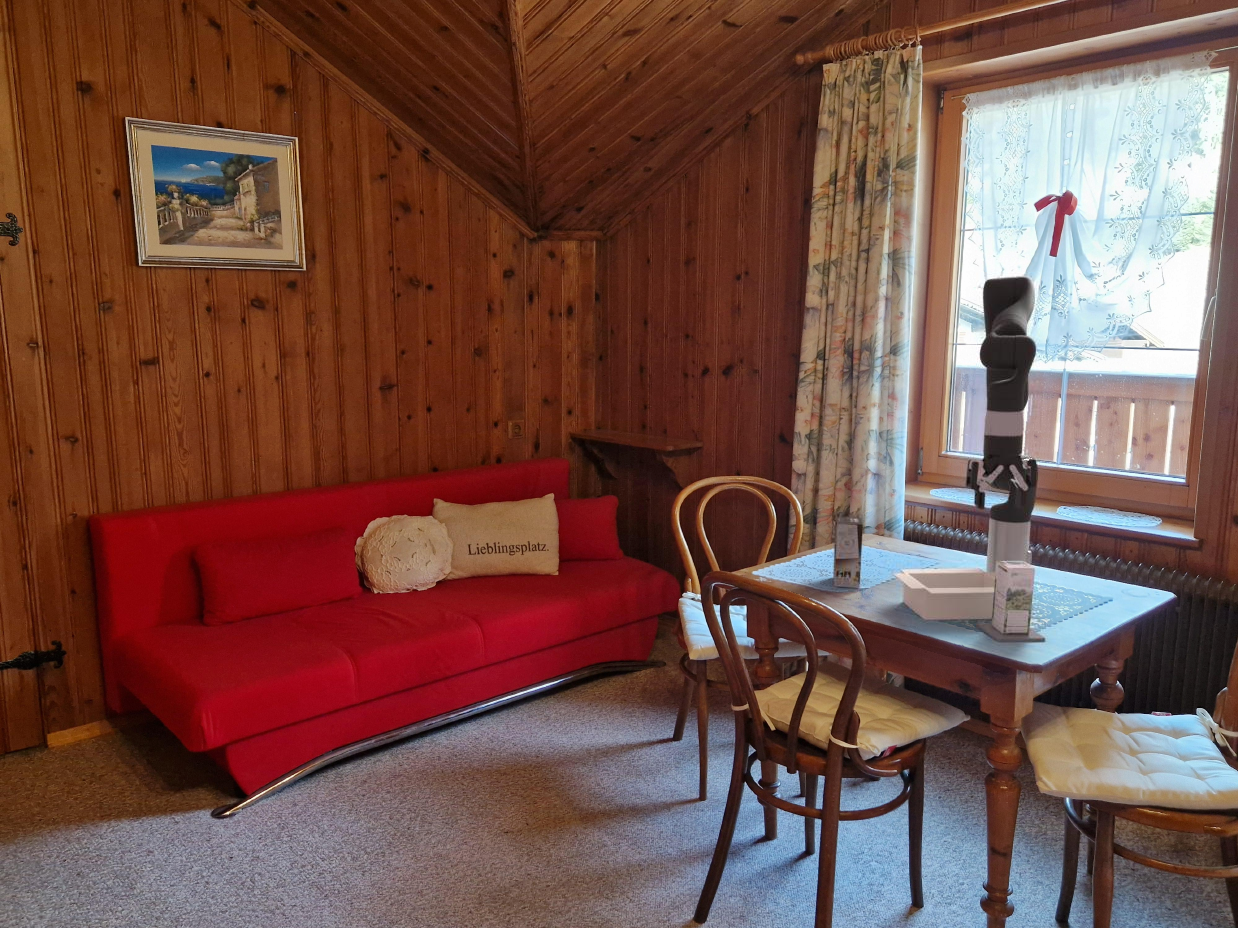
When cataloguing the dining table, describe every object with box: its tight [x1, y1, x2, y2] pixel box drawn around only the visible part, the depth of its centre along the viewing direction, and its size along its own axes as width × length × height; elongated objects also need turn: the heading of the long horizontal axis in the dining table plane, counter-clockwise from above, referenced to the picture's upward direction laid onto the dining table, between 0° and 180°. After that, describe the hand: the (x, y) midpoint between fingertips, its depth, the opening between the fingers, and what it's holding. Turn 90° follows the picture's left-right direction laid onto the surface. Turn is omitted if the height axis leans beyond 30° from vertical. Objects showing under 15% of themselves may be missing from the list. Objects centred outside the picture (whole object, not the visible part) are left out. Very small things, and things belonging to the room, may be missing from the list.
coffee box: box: [833, 516, 864, 589], centre depth 228 cm, size 9×6×16 cm
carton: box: [892, 567, 995, 621], centre depth 207 cm, size 25×19×7 cm
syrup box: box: [991, 561, 1036, 634], centre depth 191 cm, size 6×6×14 cm
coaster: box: [975, 622, 1046, 643], centre depth 192 cm, size 10×10×1 cm
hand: (999, 507), depth 193 cm, fingers open, 8 cm apart
